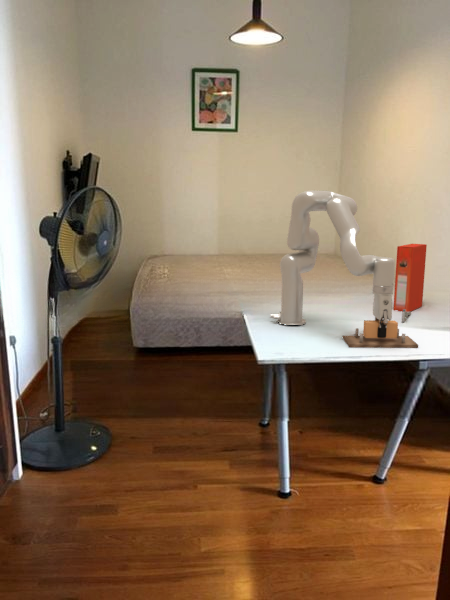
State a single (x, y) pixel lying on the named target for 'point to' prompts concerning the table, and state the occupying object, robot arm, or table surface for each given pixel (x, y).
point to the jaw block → (372, 329)
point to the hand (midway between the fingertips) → (379, 335)
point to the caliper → (405, 315)
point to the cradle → (379, 341)
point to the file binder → (409, 277)
